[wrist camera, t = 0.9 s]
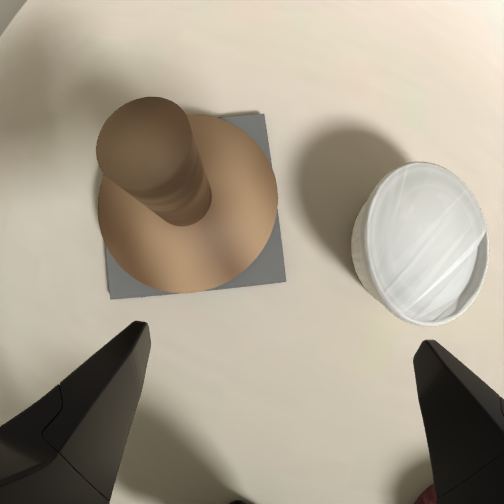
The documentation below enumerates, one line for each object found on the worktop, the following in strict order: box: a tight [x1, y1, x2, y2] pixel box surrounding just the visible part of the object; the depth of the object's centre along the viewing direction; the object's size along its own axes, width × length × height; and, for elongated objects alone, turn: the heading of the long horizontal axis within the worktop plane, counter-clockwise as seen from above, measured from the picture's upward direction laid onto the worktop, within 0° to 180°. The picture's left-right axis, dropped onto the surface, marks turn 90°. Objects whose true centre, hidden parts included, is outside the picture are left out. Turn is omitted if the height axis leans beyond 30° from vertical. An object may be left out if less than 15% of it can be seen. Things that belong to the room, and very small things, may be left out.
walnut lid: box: [96, 97, 278, 293], centre depth 17 cm, size 13×13×11 cm
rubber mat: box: [105, 114, 286, 299], centre depth 23 cm, size 13×13×1 cm
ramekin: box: [351, 162, 489, 327], centre depth 21 cm, size 11×11×5 cm
